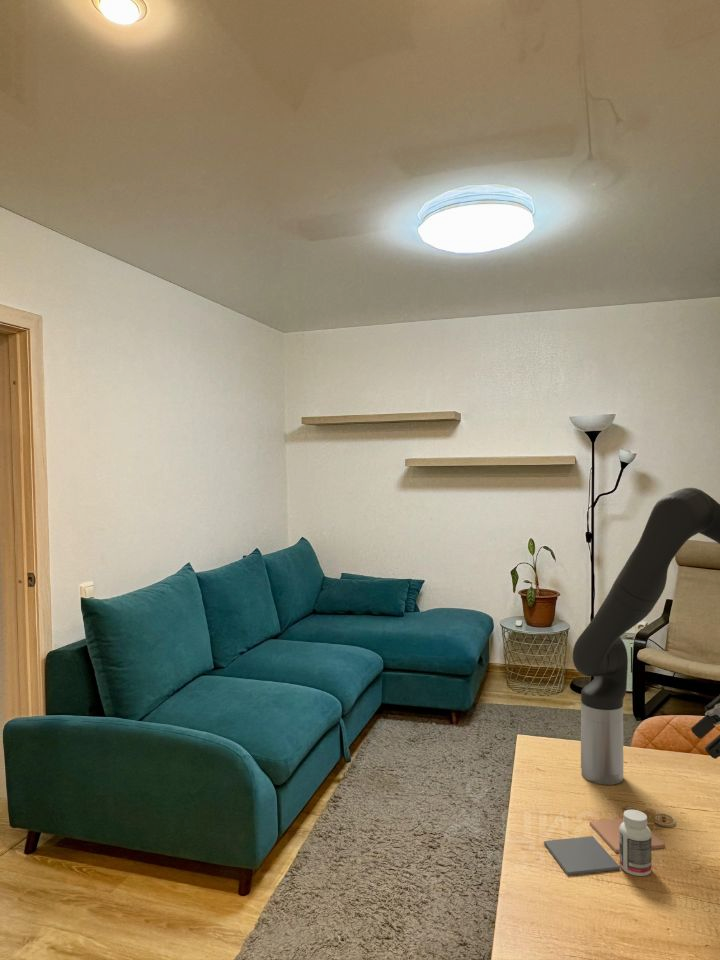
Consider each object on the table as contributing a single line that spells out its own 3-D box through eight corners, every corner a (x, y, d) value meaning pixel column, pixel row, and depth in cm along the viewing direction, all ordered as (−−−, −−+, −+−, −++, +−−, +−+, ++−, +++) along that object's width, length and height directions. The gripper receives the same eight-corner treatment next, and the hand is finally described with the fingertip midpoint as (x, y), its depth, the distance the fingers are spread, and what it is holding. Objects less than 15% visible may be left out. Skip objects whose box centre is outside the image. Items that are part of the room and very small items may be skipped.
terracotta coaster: (589, 824, 136) (589, 821, 136) (635, 819, 137) (635, 817, 137) (615, 852, 126) (615, 849, 126) (664, 847, 127) (664, 844, 127)
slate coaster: (544, 844, 129) (544, 841, 129) (592, 839, 130) (592, 836, 130) (567, 875, 119) (567, 872, 119) (619, 869, 120) (619, 866, 120)
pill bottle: (657, 870, 120) (657, 816, 120) (639, 881, 117) (639, 826, 117) (631, 856, 125) (630, 804, 124) (613, 865, 122) (612, 812, 121)
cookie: (623, 801, 143) (675, 810, 139) (623, 806, 143) (675, 814, 139) (622, 821, 136) (677, 830, 132) (622, 825, 136) (677, 835, 132)
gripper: (741, 655, 123) (675, 713, 126) (772, 679, 109) (697, 744, 112) (773, 685, 122) (705, 743, 125) (808, 713, 108) (731, 778, 111)
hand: (701, 744), depth 118 cm, fingers open, 8 cm apart
